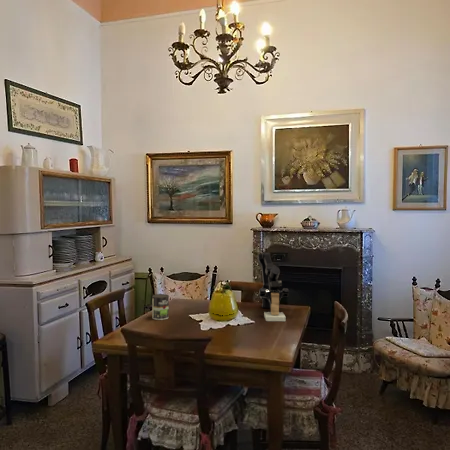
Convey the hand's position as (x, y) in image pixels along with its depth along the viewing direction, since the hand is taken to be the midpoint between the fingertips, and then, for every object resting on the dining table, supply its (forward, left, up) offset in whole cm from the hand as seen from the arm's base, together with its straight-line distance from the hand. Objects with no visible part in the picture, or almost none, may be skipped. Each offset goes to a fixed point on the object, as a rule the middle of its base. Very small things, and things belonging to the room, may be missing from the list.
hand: (275, 303), depth 270 cm
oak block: (-1, 0, -7) cm, 7 cm away
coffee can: (-1, -72, -10) cm, 73 cm away
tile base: (-1, 0, -10) cm, 10 cm away
